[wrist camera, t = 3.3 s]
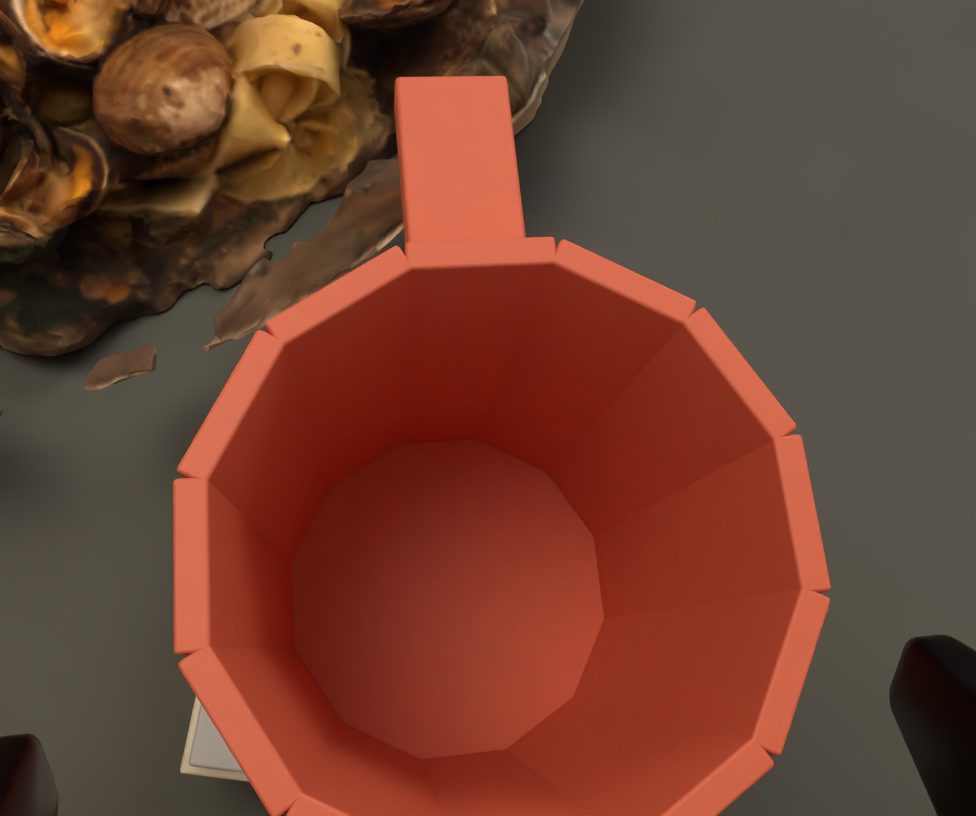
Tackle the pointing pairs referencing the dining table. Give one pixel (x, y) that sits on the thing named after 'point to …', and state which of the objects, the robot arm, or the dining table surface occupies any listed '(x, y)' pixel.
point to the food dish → (217, 148)
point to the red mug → (494, 524)
